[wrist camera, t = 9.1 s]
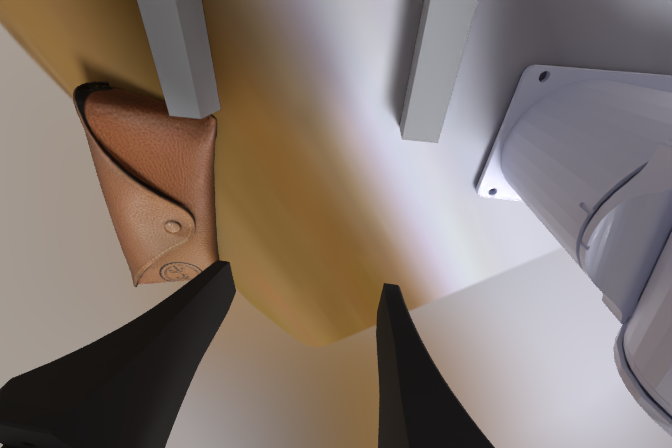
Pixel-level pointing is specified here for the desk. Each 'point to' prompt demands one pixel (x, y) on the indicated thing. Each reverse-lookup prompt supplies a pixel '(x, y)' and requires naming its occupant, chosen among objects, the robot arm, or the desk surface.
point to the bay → (199, 79)
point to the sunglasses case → (153, 180)
